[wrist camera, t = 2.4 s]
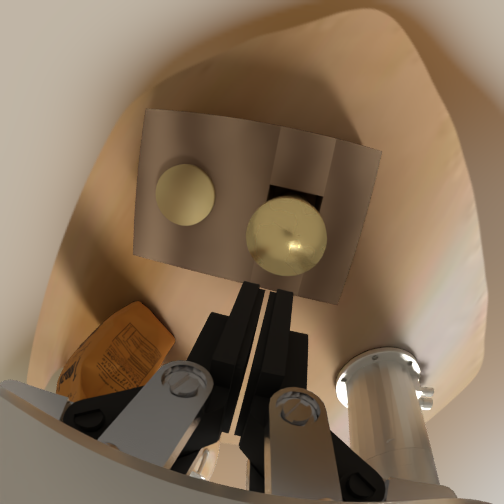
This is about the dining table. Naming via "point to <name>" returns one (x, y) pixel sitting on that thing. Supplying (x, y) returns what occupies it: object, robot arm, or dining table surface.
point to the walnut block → (246, 195)
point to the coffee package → (116, 355)
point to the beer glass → (206, 462)
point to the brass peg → (286, 235)
